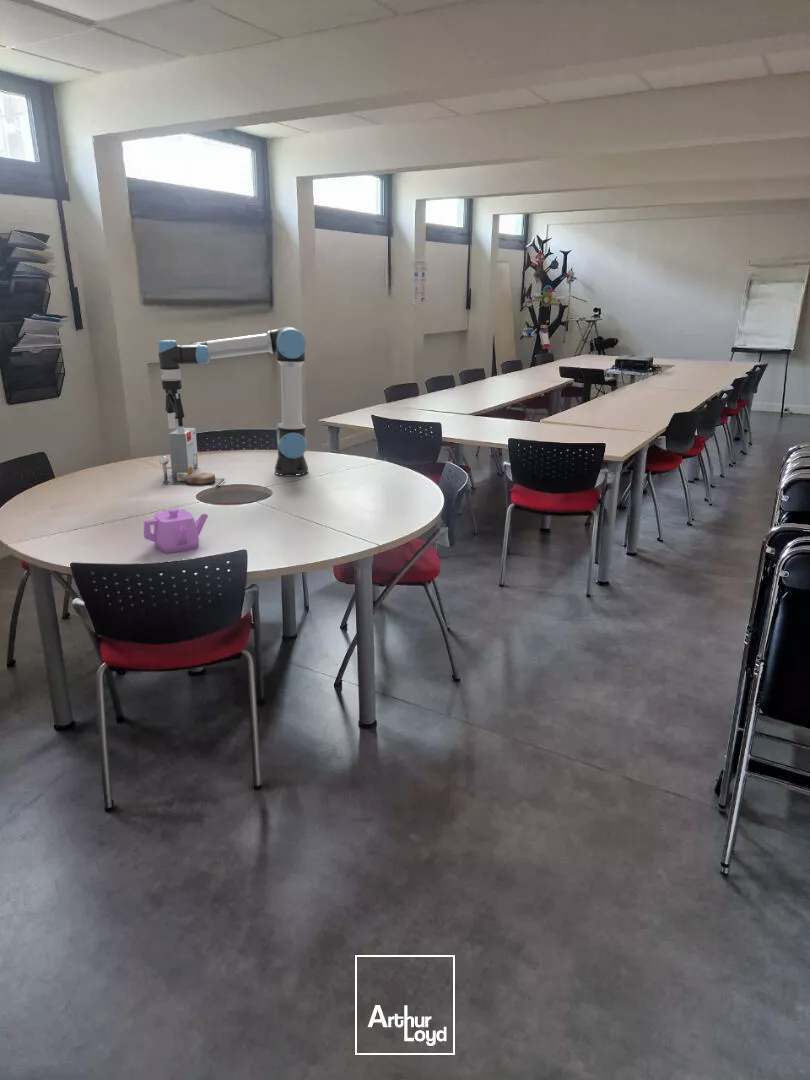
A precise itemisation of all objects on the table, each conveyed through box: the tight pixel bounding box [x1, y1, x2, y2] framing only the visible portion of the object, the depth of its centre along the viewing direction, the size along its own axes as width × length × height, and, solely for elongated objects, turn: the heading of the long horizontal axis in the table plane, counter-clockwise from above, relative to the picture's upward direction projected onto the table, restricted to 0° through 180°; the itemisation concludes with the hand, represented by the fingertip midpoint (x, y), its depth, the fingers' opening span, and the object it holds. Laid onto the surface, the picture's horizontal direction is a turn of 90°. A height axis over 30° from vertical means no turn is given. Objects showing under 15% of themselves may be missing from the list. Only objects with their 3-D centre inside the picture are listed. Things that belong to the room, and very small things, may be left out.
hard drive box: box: [168, 427, 199, 476], centre depth 316 cm, size 16×8×20 cm, turn 179°
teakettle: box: [143, 508, 209, 555], centre depth 230 cm, size 17×17×12 cm
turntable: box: [176, 472, 216, 484], centre depth 302 cm, size 16×12×3 cm
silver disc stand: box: [159, 456, 173, 484], centre depth 299 cm, size 5×2×11 cm, turn 108°
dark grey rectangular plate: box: [161, 476, 225, 489], centre depth 302 cm, size 24×12×2 cm, turn 89°
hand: (176, 431), depth 294 cm, fingers open, 13 cm apart
